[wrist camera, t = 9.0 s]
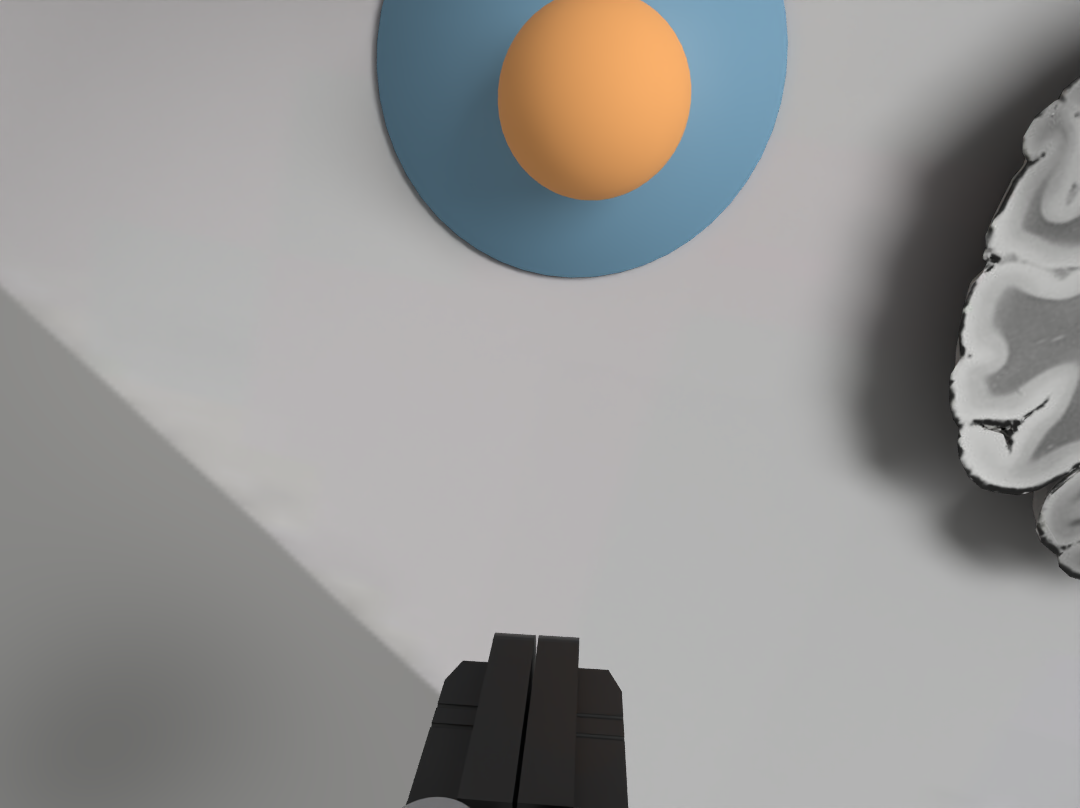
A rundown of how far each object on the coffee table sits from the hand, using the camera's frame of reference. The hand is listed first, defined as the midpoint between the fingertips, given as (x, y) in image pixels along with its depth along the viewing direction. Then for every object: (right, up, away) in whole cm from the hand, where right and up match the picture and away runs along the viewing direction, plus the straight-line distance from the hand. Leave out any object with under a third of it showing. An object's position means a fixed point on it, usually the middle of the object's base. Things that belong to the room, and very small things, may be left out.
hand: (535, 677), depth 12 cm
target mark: (+1, +15, +10) cm, 18 cm away
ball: (+2, +14, +8) cm, 16 cm away
